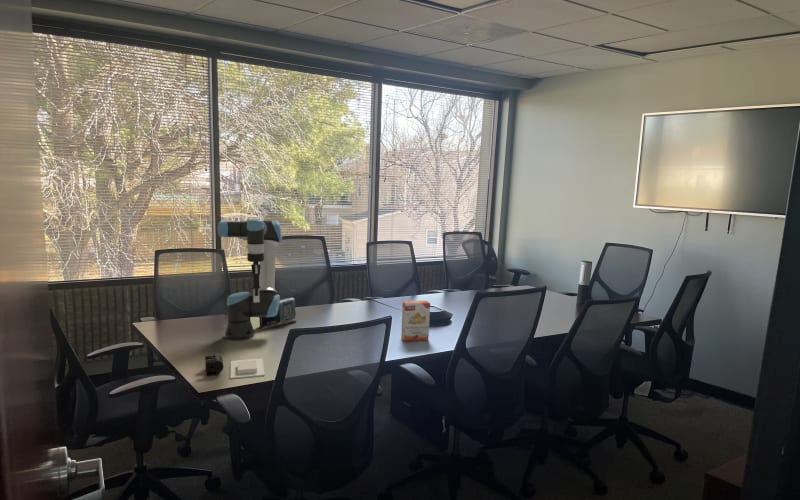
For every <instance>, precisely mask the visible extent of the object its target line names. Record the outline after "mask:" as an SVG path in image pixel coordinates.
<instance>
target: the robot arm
mask: <svg viewBox="0 0 800 500" xmlns="http://www.w3.org/2000/svg"><path fill="white" fill-rule="evenodd" d="M217 234H218V236H219V237H220V238H236V239H239V240H244V241H246V243H247V244H246V246H245V248H247V249H246V250H247V255H246V258H247V262H250V263H252V264H251V274H252V280H253V281H252V286H253V287H251V290H252V291H253V292H252V294H251V293H250V292H249V291H241V292H240V291H239V292H235V293H231V294H230V295H228V296H227V299H226V306H227V307H226V308H227V311H226V312H227V324H226V327H225V330H224V334H223V335H224V339H225V340H228V341H243V340H244V341H245V340H249V339H251V338H253V337H254V336H255V330H254V326H253V323H252V322H251V318H259V317H274V316H276V315H277V313H278V309H279V303H280V300H281V296H280V295H279V294H278V291H277V289H276V288H275V286H276V285H275V284H276V283H275V282H276V262H277V261H276V260H277V259H276V258H277V257H276V255H277V253H276V252H277V247H279V245H280V242H282V241H283V235H282V228H281V223H280V221H279V220H272V219H270V220H263V219H260V218H259V219H258V218H253V219H248V220H244V221H234V220H233V221H228V220H225V221H219V222H218V224H217Z"/></svg>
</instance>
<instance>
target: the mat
mask: <svg viewBox="0 0 800 500" xmlns="http://www.w3.org/2000/svg"><path fill="white" fill-rule="evenodd" d="M253 360H256V364H257V372H256V373H245V374H238V362H241V361H253ZM263 362H264V361H263V358H262V357H261V358H252V359H251V358H250V359H249V358H248V359H239V360H230V377H229V378H230V380H233V379H234V380H235V379H247V378H257V377H265V368H264V363H263Z"/></svg>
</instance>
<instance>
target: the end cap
mask: <svg viewBox="0 0 800 500" xmlns="http://www.w3.org/2000/svg"><path fill="white" fill-rule="evenodd" d="M204 360H205V362H204V363H205V366H204V367H205V376H206V377H212V376H217V375H219V374H220V373H222V371H223V370H224V363H223V362H224V360H223V357H222V355H221V354H219V353H218V352H215V353H214V354H213V355H205V356H204Z"/></svg>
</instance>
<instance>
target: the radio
mask: <svg viewBox="0 0 800 500" xmlns="http://www.w3.org/2000/svg"><path fill="white" fill-rule="evenodd" d="M258 319H259V326H258V327H259V329H260V330H264V329H269V328H275V327H278V326H282V325H287V324H291V323H296V322H297V320H296V319H297V318H296V300H295V298H294V297H293V296H288V297H285V298H282V299H281V298H280V303H279V309H278V313H277V315H276V316H274V317H258Z"/></svg>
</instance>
